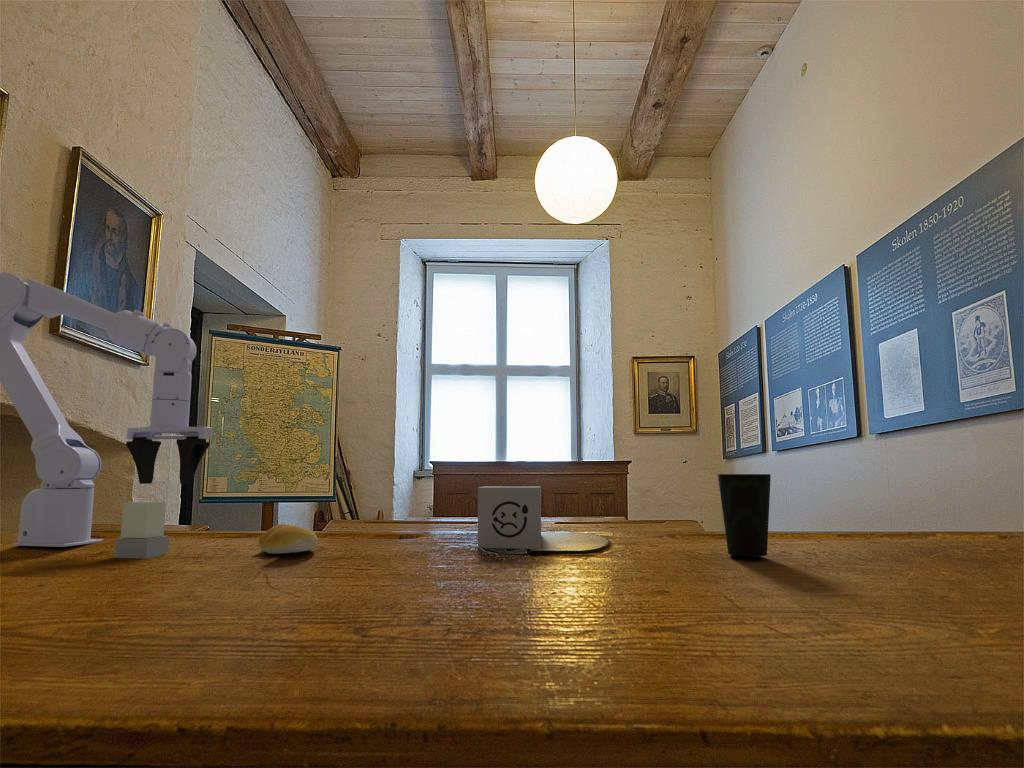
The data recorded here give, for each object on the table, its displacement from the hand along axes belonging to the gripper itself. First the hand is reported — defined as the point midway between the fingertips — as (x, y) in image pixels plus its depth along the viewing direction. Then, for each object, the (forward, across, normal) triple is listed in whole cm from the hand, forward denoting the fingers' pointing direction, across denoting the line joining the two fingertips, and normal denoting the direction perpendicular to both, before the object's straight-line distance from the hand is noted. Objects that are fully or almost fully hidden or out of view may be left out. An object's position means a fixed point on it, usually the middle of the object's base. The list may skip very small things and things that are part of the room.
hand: (165, 483), depth 111 cm
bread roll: (+11, +27, -2) cm, 29 cm away
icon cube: (+11, +55, +14) cm, 58 cm away
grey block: (+11, +4, -9) cm, 15 cm away
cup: (+11, +92, +12) cm, 93 cm away
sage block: (+8, +4, -9) cm, 13 cm away
